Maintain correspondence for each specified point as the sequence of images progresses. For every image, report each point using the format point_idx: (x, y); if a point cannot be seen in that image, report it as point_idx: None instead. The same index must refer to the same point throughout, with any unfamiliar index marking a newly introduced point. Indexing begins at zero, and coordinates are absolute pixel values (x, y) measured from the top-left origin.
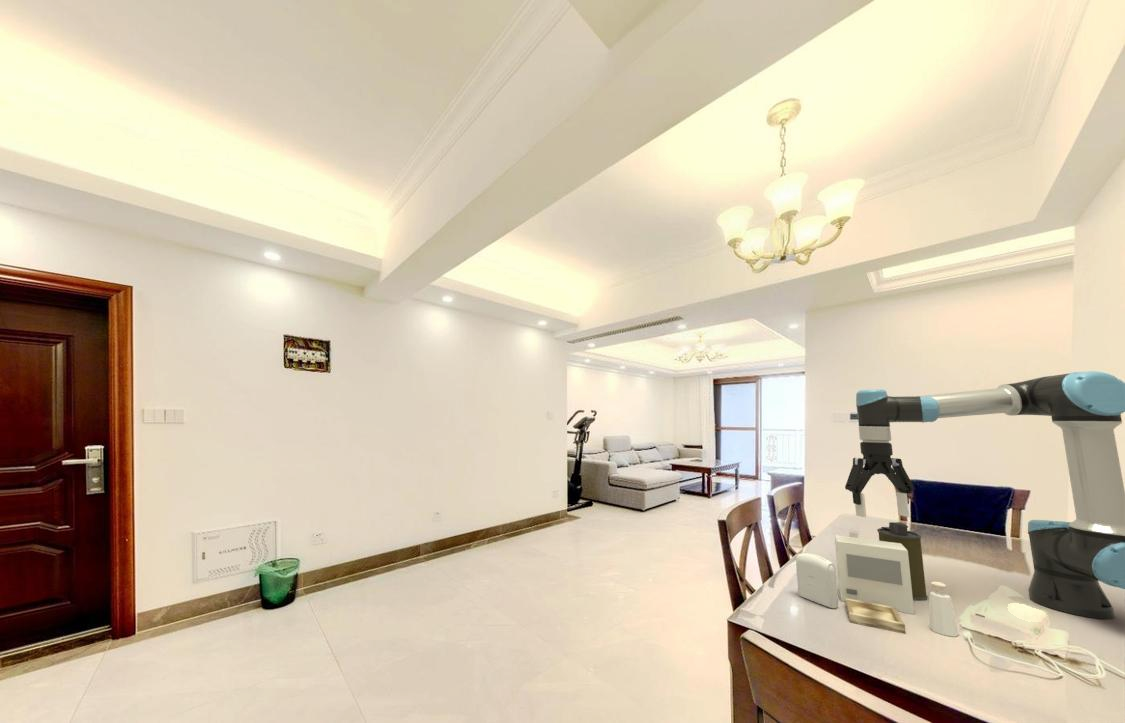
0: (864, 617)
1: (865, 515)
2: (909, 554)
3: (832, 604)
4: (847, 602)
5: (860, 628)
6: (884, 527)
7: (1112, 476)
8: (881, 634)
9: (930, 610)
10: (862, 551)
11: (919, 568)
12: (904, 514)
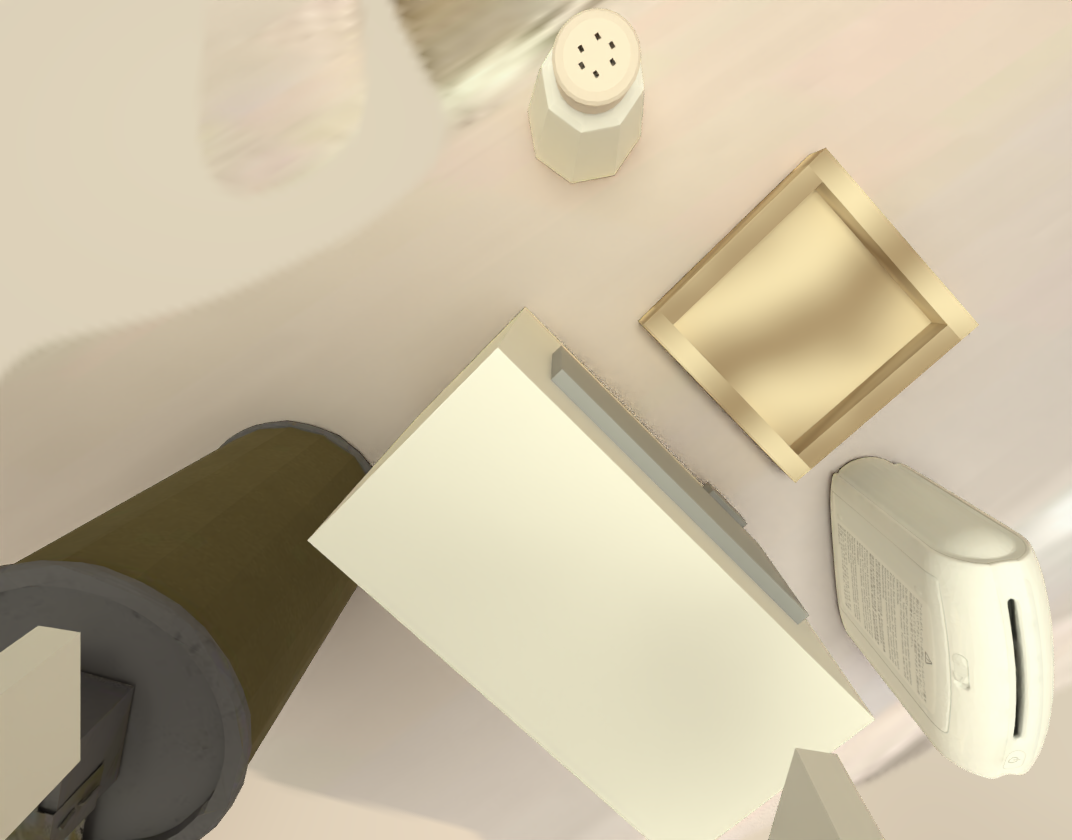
0: (936, 276)
1: (820, 769)
2: (221, 527)
3: (894, 465)
4: (840, 435)
5: (972, 257)
6: None
7: None
8: (937, 181)
9: (624, 143)
10: (731, 566)
11: (207, 474)
12: (56, 685)
